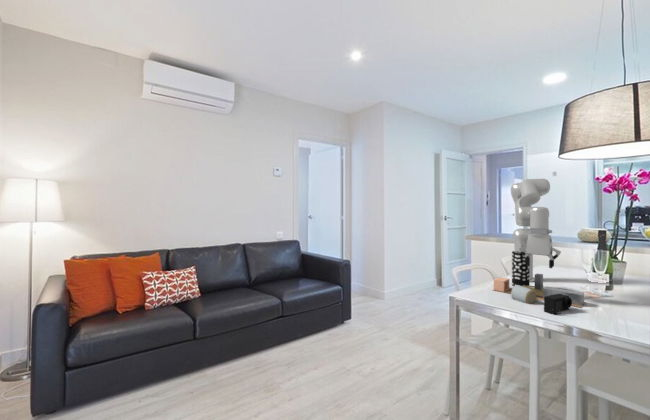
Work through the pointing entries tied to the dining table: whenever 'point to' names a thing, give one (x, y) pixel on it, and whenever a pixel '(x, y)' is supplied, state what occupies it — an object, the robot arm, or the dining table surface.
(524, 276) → the spotted tube
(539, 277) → the hammer
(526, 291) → the ceramic mug
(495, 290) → the walnut board
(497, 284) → the terracotta socket
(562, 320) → the dining table surface
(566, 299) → the digital camera
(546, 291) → the metal sleeve
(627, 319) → the dining table surface
